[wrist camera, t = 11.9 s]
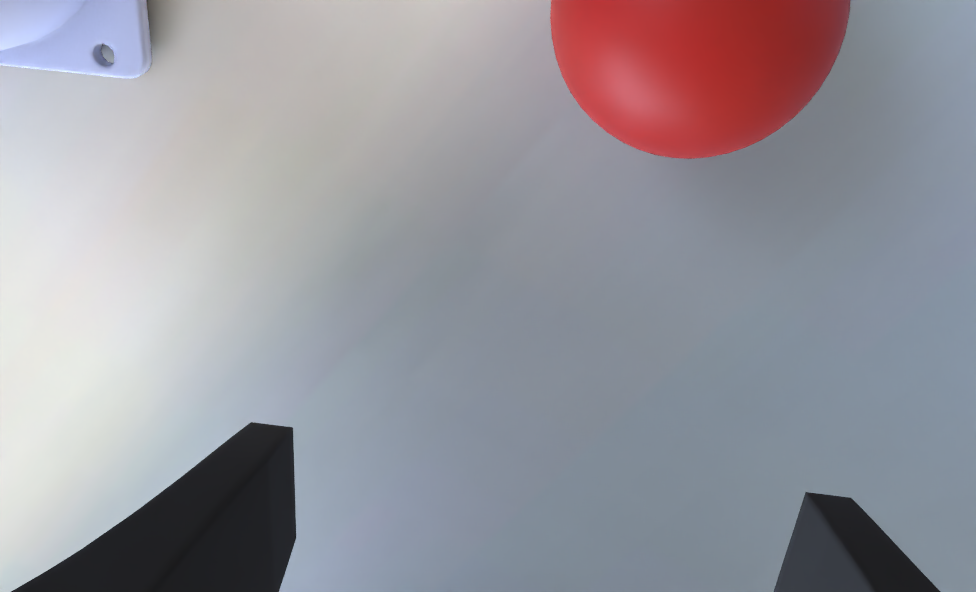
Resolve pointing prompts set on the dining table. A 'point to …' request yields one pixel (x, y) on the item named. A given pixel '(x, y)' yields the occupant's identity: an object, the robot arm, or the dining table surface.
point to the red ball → (695, 67)
